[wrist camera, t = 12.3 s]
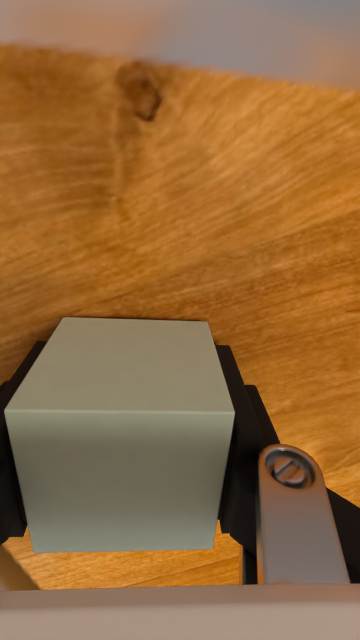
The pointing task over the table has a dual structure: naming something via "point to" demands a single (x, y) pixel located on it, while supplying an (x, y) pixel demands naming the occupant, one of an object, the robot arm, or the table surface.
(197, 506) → the soap cube
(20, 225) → the table surface
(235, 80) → the table surface
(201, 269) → the table surface
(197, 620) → the robot arm
